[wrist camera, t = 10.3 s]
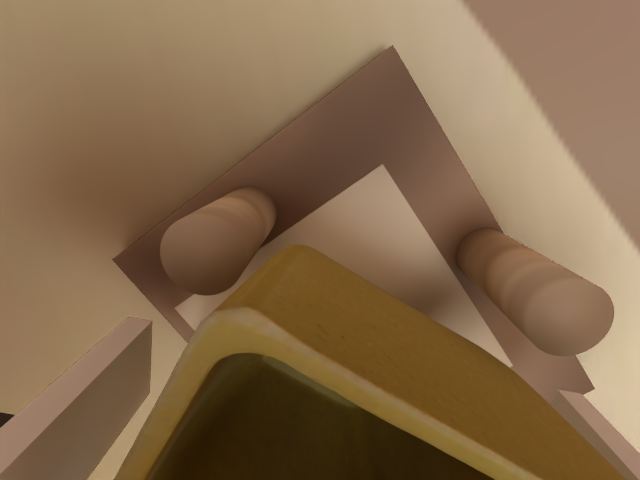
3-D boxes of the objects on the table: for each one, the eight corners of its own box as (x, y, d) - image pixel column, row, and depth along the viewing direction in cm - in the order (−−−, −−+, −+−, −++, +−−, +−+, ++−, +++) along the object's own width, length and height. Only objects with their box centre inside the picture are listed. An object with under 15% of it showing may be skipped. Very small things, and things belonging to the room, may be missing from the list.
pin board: (126, 251, 15) (-8, 324, 9) (388, 52, 12) (438, -27, 6) (340, 491, 18) (343, 657, 12) (578, 373, 15) (724, 511, 10)
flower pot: (193, 363, 15) (-3, 679, 6) (294, 189, 13) (209, 301, 4) (365, 452, 16) (405, 829, 7) (487, 306, 14) (760, 599, 5)
